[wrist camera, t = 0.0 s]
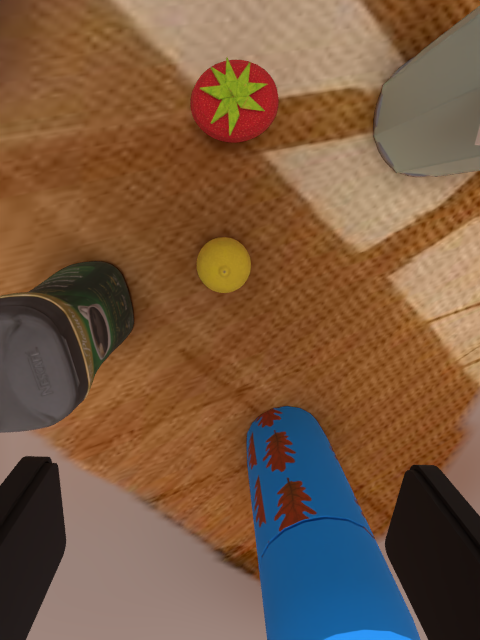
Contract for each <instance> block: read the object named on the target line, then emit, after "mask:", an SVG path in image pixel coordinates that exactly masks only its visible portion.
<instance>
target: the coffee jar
mask: <svg viewBox="0 0 480 640" xmlns="http://www.w3.org/2000/svg"><path fill="white" fill-rule="evenodd" d="M133 318H134V317H133V309H132V304H131V300H130V295H129V292H128V289H127V286H126V283H125V281H124V278H123V276H122V274H121V273H120V271H119V270H118V269H117V268H115V267H114V266H113V265H111V264H109V263H106V262H100V261H92V262H82V263H77V264H73V265H70V266H67V267H65V268H63V269H61V270H60V271H58V272H56V273H55V274H53V275H52V276H51V277H49V278H48V279H47V280H45V281H44V282H42V283H41V284H40V285H38V286H37V287H35V288H34V289H32V290H30V291H29V292H24V293H13V294H7V295H2V296H0V432H20V431H28V430H35V429H40V428H45V427H49V426H51V425H54V424H56V423H57V422H59V421H61V420H62V419H64V418H65V417H66V416H68V415H69V414H70V413H71V412H72V411H73V410H74V409H75V408H76V407H77V406H78V405H79V404H80V403H81V402H82V401H83V400H84V399H85V398H86V396H87V394H88V392H89V390H90V388H91V385H92V382H93V379H94V376H95V374H96V372H97V370H98V369H99V367H100V366H101V364H102V363H103V362H104V361H105V360H106V359H107V357H108V356H109V355H110V354H111V353H112V352H113V351H114V350H115V349H116V348H117V347H118V346H119V345H120V344H121V343H122V342H123V341H124V340H125V339H126V337H127V336H128V335H129V334H130V332H131V331H132V328H133V324H134V319H133Z"/></svg>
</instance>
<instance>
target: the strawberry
mask: <svg viewBox="0 0 480 640" xmlns="http://www.w3.org/2000/svg"><path fill="white" fill-rule="evenodd" d="M278 102H279V99H278V93H277V88H276V85H275V83H274V81H273V79H272V78H271V76H270V75H269V74H268V73H267V72H266V71H265V70H264V69H263V68H261V67H260V66H258V65H256V64H254V63H251V62H249V61H244V60H228V58H226V61H223V62H221V63H218V64H215V65H214V66H212V67H211V68H209V69H208V70H206V71H205V72H204V73H203V74H202V75H201V77H200V78H199V80H198V81H197V83H196V85H195V87H194V89H193V91H192V95H191V111H192V115H193V118H194V120H195V122H196V123H197V125H198V126H199V127H200V129H201V130H203V131H204V132H205V133H206V134H207V135H209V136H211V137H213V138H215V139H217V140H220V141H225V142H243V141H247V140H250V139H253V138H255V137H257V136H258V135H260V134H262V133H263V132H264V131H265V130H266V129H267V128H268V127H269V126H270V125H271V123H272V122H273V120H274V118H275V116H276V114H277V110H278Z"/></svg>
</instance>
